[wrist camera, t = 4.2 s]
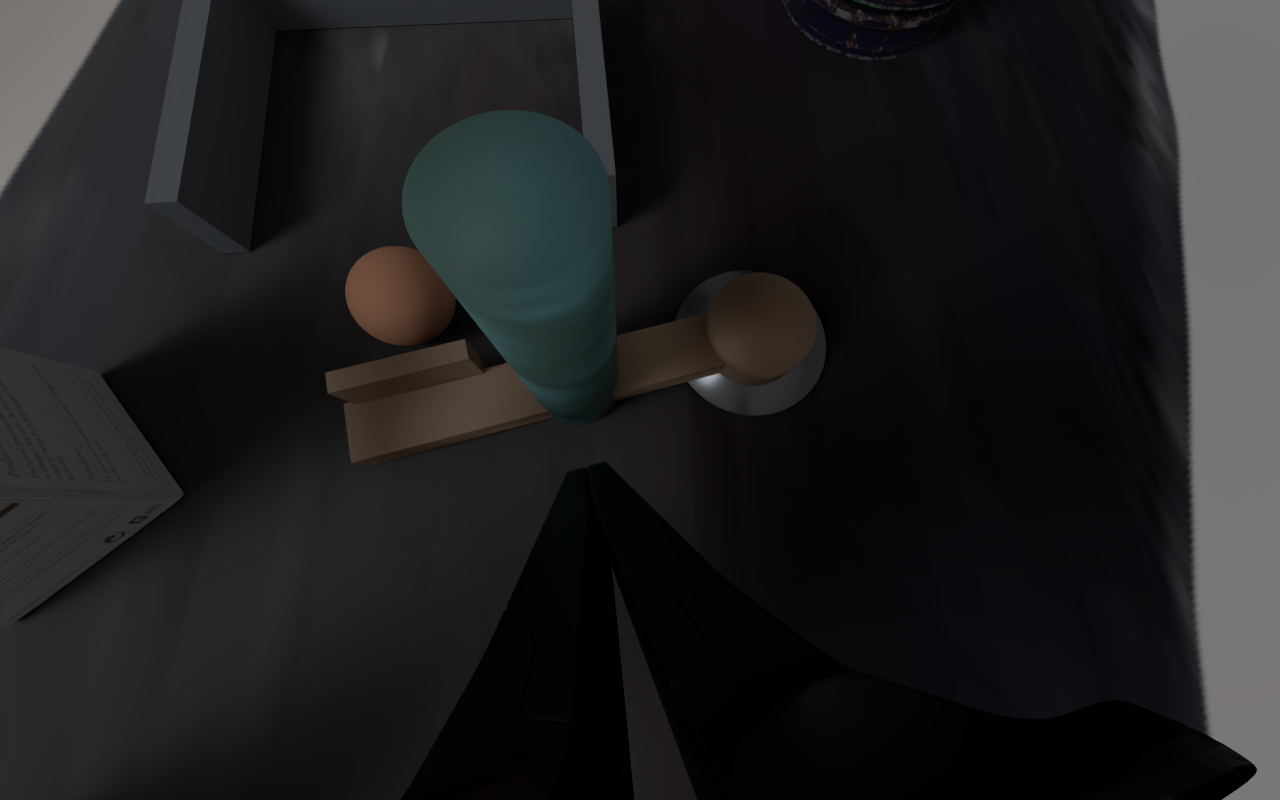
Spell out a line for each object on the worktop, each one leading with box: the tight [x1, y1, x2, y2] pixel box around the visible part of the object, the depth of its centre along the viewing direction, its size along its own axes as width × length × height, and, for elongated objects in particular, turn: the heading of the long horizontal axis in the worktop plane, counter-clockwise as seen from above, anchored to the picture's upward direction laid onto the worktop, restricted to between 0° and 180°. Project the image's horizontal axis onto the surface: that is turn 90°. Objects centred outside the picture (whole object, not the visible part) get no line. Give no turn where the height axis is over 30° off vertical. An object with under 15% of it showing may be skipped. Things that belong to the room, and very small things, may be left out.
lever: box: [325, 110, 817, 466], centre depth 14 cm, size 19×4×12 cm, turn 106°
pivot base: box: [675, 270, 826, 417], centre depth 20 cm, size 7×7×1 cm
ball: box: [345, 246, 456, 346], centre depth 18 cm, size 4×4×4 cm
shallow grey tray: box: [144, 0, 617, 254], centre depth 21 cm, size 15×18×4 cm
